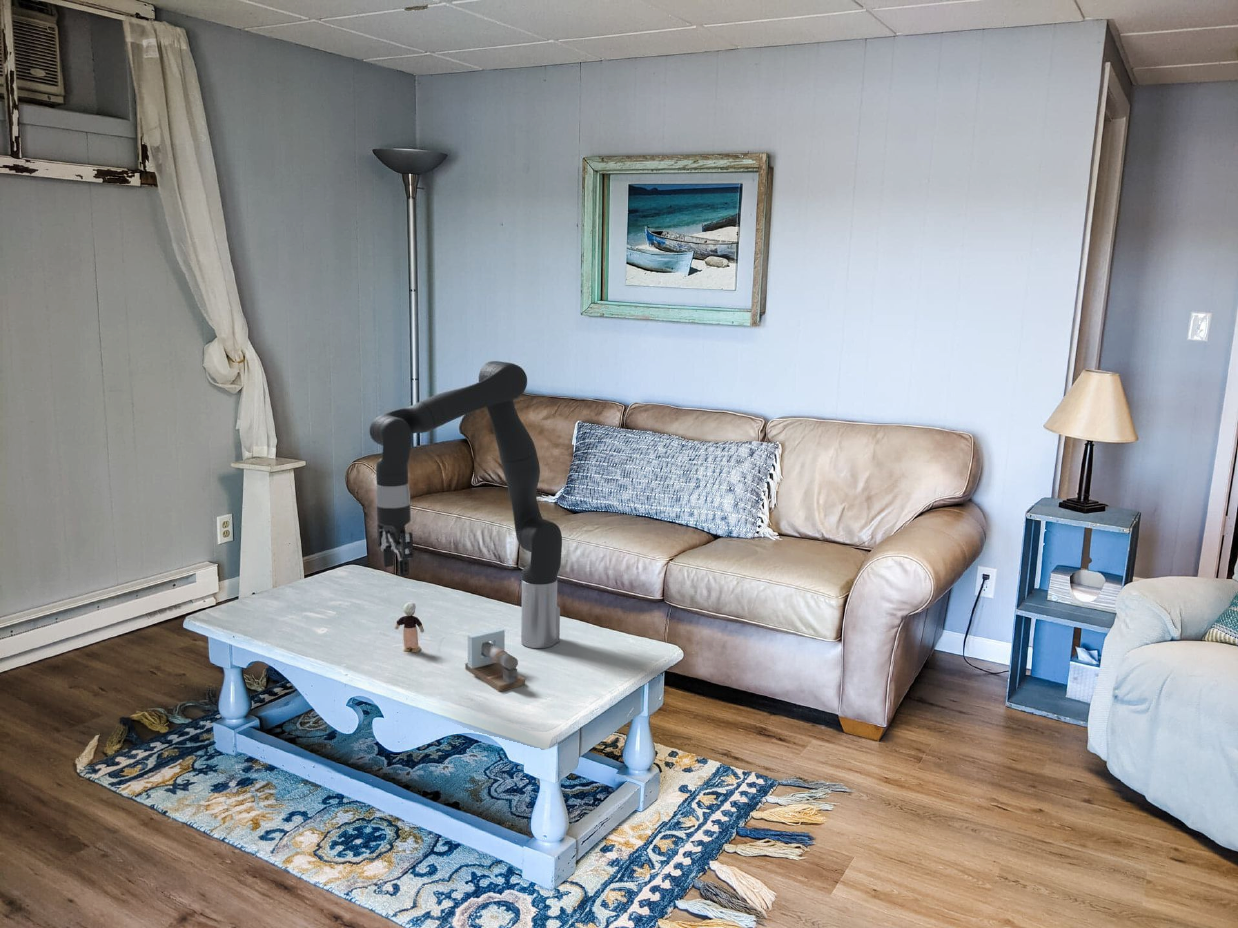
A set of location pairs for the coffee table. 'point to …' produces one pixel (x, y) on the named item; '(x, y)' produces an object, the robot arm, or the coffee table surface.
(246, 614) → the coffee table surface
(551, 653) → the coffee table surface
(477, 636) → the square plate with hole
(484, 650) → the pipe stand
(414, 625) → the grandmother figurine
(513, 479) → the robot arm
